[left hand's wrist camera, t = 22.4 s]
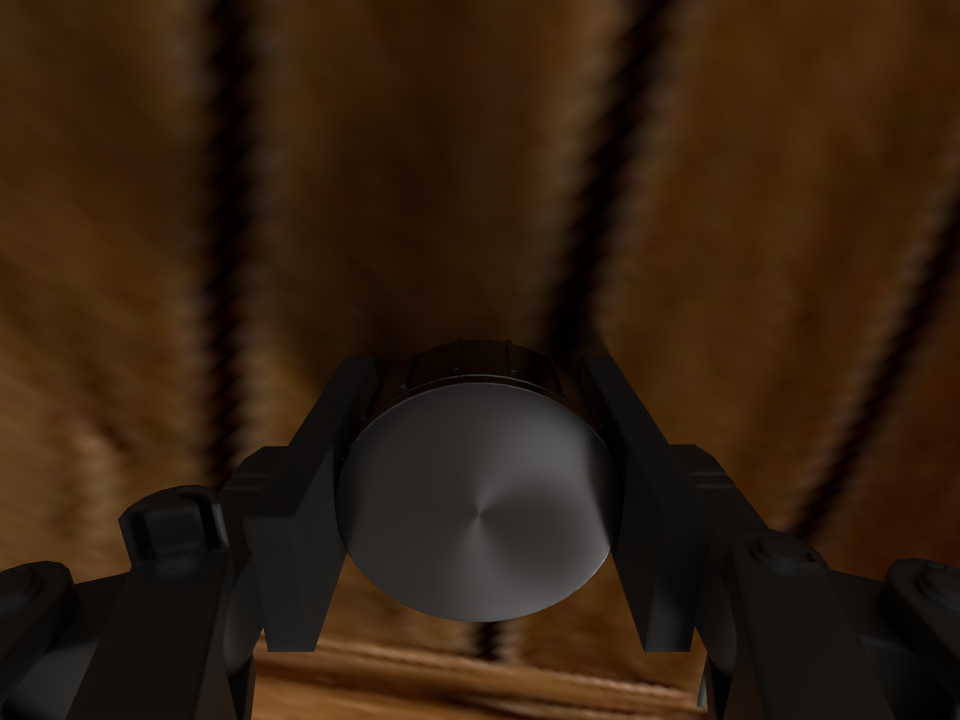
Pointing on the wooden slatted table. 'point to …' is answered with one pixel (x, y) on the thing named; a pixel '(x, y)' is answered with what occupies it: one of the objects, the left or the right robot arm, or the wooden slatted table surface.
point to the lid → (478, 484)
